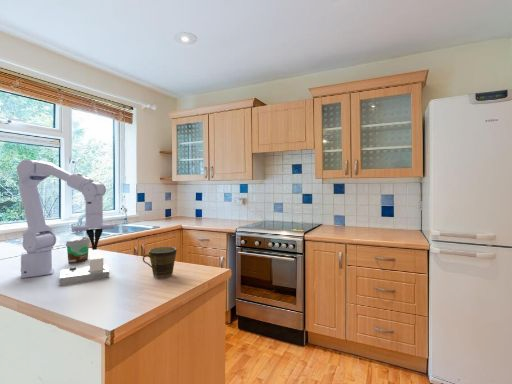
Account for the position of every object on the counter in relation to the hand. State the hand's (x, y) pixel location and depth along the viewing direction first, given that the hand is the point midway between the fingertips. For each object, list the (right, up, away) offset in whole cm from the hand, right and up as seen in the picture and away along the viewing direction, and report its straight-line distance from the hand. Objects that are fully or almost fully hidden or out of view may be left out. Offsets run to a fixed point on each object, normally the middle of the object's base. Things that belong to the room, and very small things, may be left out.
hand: (94, 249), depth 109 cm
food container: (-18, -10, +22) cm, 30 cm away
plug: (+1, -9, -1) cm, 9 cm away
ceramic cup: (+26, -10, -3) cm, 28 cm away
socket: (-2, -10, -3) cm, 11 cm away
